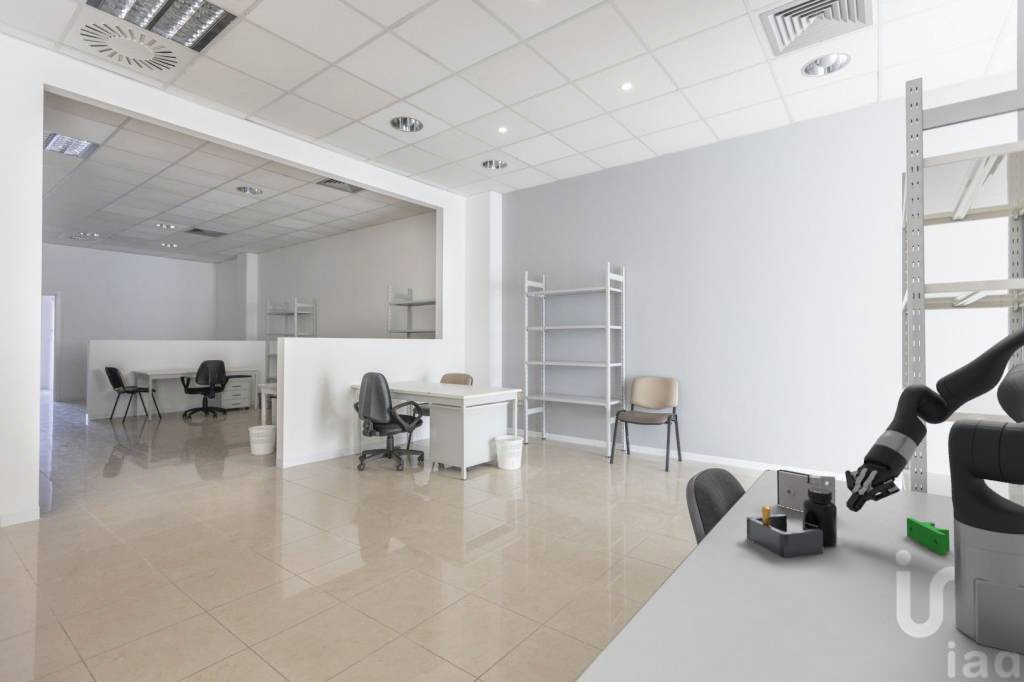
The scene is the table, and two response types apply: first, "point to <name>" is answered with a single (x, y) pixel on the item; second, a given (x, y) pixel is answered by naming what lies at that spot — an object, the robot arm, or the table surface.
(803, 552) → the keeper cradle
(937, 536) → the pipe clamp
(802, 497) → the hinge
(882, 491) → the robot arm
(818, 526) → the supplement bottle
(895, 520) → the table surface
